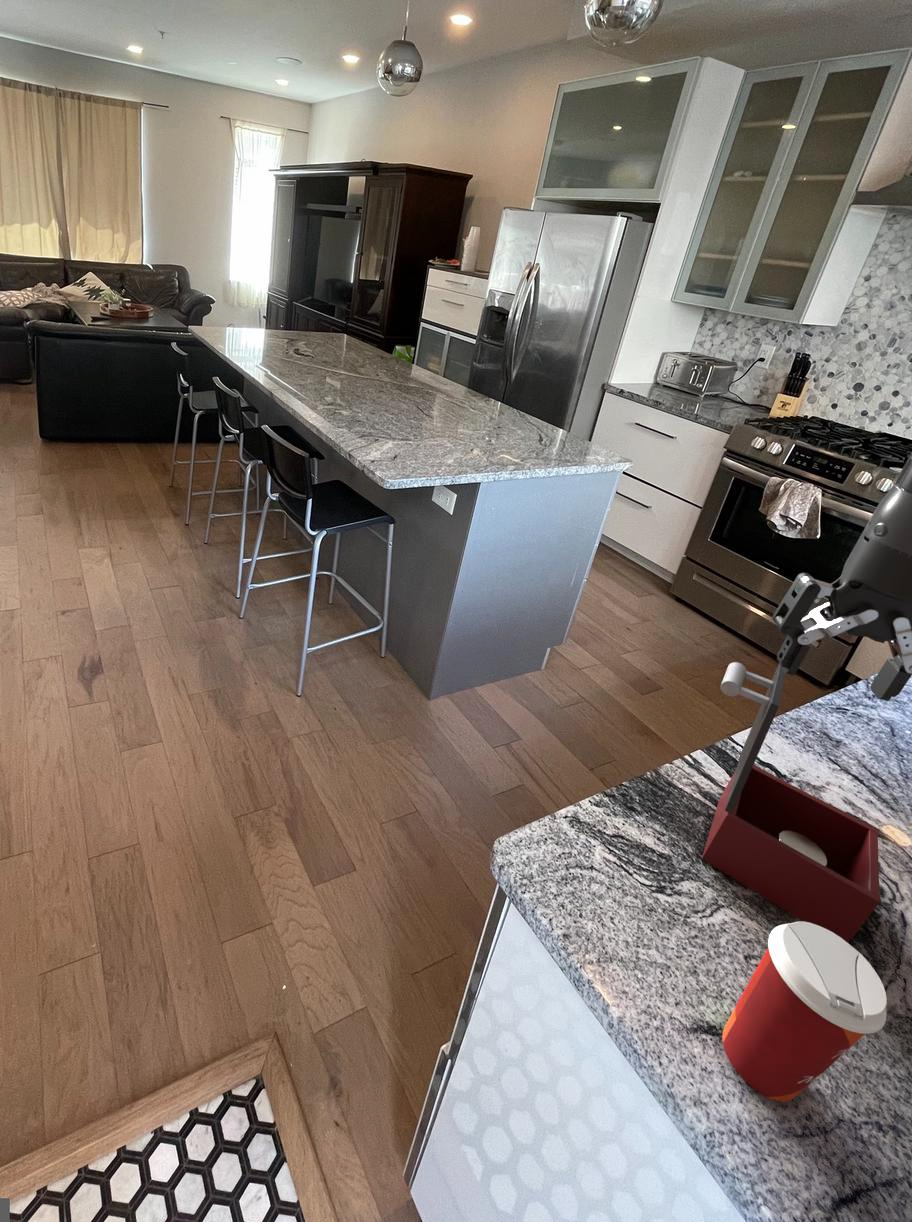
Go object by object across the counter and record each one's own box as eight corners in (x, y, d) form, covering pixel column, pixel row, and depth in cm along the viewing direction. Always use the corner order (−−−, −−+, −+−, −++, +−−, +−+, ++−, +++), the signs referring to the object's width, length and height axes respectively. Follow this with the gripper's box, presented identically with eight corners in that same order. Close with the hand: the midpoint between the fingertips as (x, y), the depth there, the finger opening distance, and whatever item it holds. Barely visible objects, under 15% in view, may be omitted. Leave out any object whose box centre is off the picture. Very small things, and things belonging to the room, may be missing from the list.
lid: (789, 658, 71) (738, 640, 74) (779, 706, 62) (721, 683, 65) (746, 757, 76) (700, 736, 79) (731, 814, 68) (680, 788, 70)
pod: (812, 872, 71) (828, 848, 70) (809, 900, 68) (826, 876, 66) (766, 846, 74) (781, 823, 72) (761, 871, 70) (777, 848, 69)
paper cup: (821, 1143, 49) (915, 1044, 43) (714, 1093, 51) (791, 992, 45) (792, 1035, 56) (869, 938, 50) (699, 995, 58) (763, 897, 52)
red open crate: (844, 876, 73) (877, 829, 69) (841, 951, 64) (880, 902, 61) (716, 804, 80) (741, 758, 77) (698, 863, 71) (726, 815, 68)
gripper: (979, 545, 59) (890, 681, 66) (813, 508, 62) (744, 642, 69) (1036, 582, 52) (931, 729, 59) (848, 538, 55) (767, 683, 62)
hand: (831, 682), depth 64 cm, fingers open, 8 cm apart
